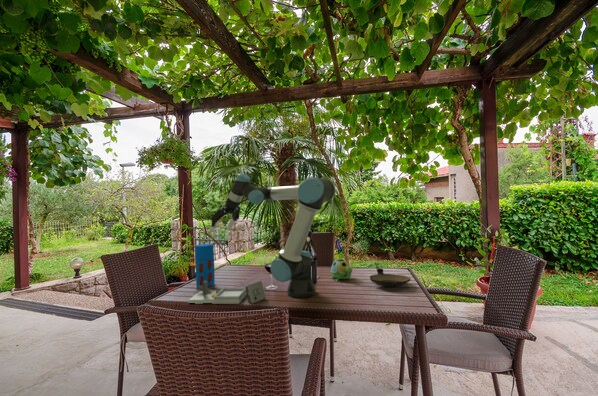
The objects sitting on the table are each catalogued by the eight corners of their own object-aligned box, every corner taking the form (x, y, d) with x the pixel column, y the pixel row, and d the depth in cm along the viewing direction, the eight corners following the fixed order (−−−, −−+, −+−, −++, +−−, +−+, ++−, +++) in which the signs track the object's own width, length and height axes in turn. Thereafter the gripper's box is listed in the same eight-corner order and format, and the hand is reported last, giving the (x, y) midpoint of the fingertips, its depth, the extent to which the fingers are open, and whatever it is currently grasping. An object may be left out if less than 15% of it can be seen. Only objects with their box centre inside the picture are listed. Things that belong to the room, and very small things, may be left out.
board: (246, 294, 163) (246, 287, 163) (239, 303, 148) (239, 296, 148) (200, 294, 165) (200, 288, 165) (188, 303, 150) (188, 296, 150)
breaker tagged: (207, 295, 155) (207, 280, 155) (205, 297, 152) (205, 282, 152) (205, 295, 155) (204, 280, 155) (202, 297, 152) (202, 282, 152)
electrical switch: (252, 304, 147) (250, 285, 147) (245, 303, 150) (243, 284, 151) (265, 299, 154) (264, 280, 155) (258, 298, 157) (257, 280, 158)
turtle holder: (341, 284, 175) (341, 264, 176) (327, 277, 192) (327, 259, 192) (359, 281, 180) (358, 262, 180) (344, 275, 197) (343, 257, 197)
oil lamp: (369, 291, 161) (369, 277, 161) (369, 277, 190) (369, 265, 190) (413, 293, 156) (412, 278, 156) (406, 278, 185) (406, 266, 185)
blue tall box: (218, 285, 182) (216, 244, 182) (202, 289, 174) (200, 246, 174) (208, 282, 189) (207, 243, 190) (192, 286, 182) (191, 245, 182)
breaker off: (212, 289, 162) (199, 285, 162) (210, 291, 159) (197, 286, 159) (211, 292, 162) (198, 287, 162) (209, 293, 159) (196, 289, 159)
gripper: (245, 195, 181) (231, 224, 187) (213, 195, 160) (199, 228, 166) (253, 202, 178) (239, 231, 184) (221, 203, 157) (207, 235, 163)
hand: (220, 229), depth 175 cm, fingers open, 13 cm apart
